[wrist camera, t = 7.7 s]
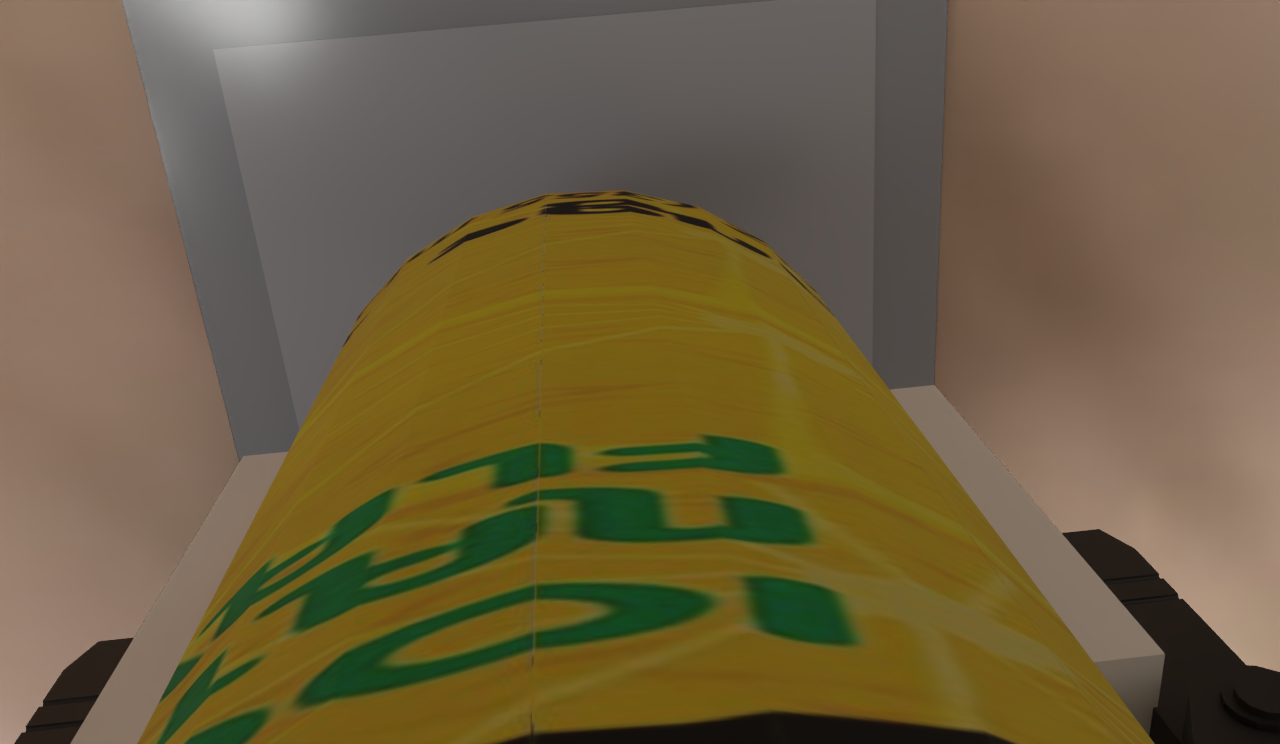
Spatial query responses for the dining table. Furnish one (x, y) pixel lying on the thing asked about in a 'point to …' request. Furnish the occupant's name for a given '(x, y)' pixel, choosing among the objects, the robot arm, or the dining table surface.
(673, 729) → the beverage can
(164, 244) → the dining table surface
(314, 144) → the plate
